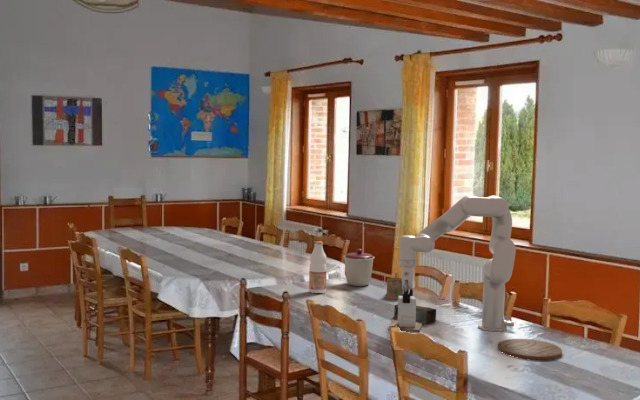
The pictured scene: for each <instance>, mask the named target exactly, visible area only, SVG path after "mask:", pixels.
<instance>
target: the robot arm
mask: <svg viewBox="0 0 640 400" xmlns="http://www.w3.org/2000/svg"><path fill="white" fill-rule="evenodd" d="M509 208H510V207H509V203H508V201H507V200H506V199H505V198H504V197H500V196H498V195H489V196H487V197H484V196H483V197H479V196H473V195H470V194H469V195H465V196H463V197H461V199H459V200H458V201H457V202H455V204H454V205H452V206H451V207H450V208H448V210H447V211H446V212H444V213H443V214H442V215H441V216H439V217H438V218H436V219H435V220H433V221H432V222H431V223H429V224H428V225H427V226H425V227H424V228H423V229H422V230H421V231H420V232H418V234H416V236H415V235H410V234H408V235H407V234H406V235H401V236H400V237H399V267H401V278H402V288H403V303H410V296H414V290H413V289H414V288H415V286H416V269H415V268H416V267H417V252H418V253H424V254H425V253H427V254H428V253H431V252H432V251H433V250H434V249H435V246H436V245H435V241H436V240H438V238H440V237H441V236H443V235H444V234H448V233H450V232H454V231H455V230H456V229H457V228H458V227H460V226H461V225H462V224H463V223H465V221H466V220H468V219H469V218H470V217H481V218H482V217H485V218H488V217H489V218H491V220H492V227H491V234H490V239H489V243H488V249H489V252H490V253H491V254H492V258H489V259H487V260H486V261H485V262H484V265H483V267H482V278H483V279H482V280H483V281H482V282H483V283H482V284H483V292H482V311H481V313H482V314H481V315H482V316H481V322H479V323H478V325H477V327H478V328H479V329H480V330H482V331H483V330H484V331H487V332H488V331H489V332H504V330H505V331H507V328H508V327H507V326H509V327H515V323H514V321H511V320H506V319H505V317H504V316H505V301H506V299H505V298H506V283H508V282H509V281H510V280H511V277H512V275H513V270H514V264H515V260H516V259H515V258H516V253H517V252H516V251H517V250H516V244H515V243H514V241H513V240H511V237H512V229H513V218H512V217H513V216H512V213H511V211H510V209H509Z"/></svg>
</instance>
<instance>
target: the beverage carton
mask: <svg viewBox="0 0 640 400" xmlns="http://www.w3.org/2000/svg"><path fill="white" fill-rule="evenodd" d="M393 314H394V315H393V317H394V318H397V319H398V303H397V304H394V313H393ZM436 319H437V309H436V308H432V307H429V306H428V307H426V306H425V307H424V306H421V305H416V322H423V324H424V325H426V324H427V325H428V324H431V323H434V322H436V321H437V320H436Z"/></svg>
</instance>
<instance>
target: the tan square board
mask: <svg viewBox="0 0 640 400" xmlns="http://www.w3.org/2000/svg"><path fill="white" fill-rule="evenodd" d="M423 325H424V323H423V322H416V325H415V327H400V326H399V324H398V319H392V320H391V321H390V323H389V325H388V326H387V328H388V327H389V326H397V327H399V328H400V330H403V331H402V332H411V333H420V332H421V329H422V328H423Z"/></svg>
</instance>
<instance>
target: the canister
mask: <svg viewBox="0 0 640 400" xmlns="http://www.w3.org/2000/svg"><path fill="white" fill-rule="evenodd" d="M343 259H344V269H345V271H344V272H345V278H346V279H345V280H346V283H347V284H348V285H349V286H354V287H365V286H368V285H369V284H370V283H371V280H372V279H371V278H372V273H373V272H372V271H373V265H374V264H373V263H374V259H375V256H373V255H372V254H371V253H366V252H363V249H362V248H356V250H355V252H348V253H346V254H345V255H343Z"/></svg>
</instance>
